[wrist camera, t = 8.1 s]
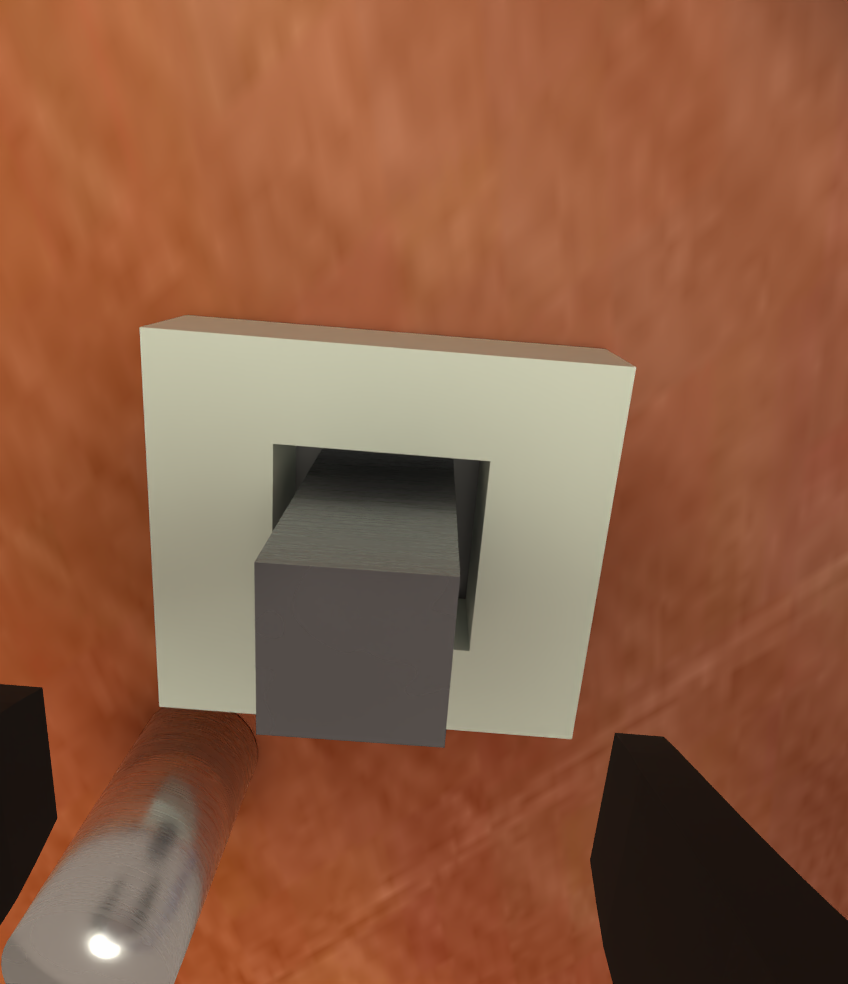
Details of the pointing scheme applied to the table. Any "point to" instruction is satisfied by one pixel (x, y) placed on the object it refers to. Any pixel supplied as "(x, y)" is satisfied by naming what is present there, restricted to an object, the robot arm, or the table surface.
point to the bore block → (388, 429)
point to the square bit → (360, 602)
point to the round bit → (140, 859)
